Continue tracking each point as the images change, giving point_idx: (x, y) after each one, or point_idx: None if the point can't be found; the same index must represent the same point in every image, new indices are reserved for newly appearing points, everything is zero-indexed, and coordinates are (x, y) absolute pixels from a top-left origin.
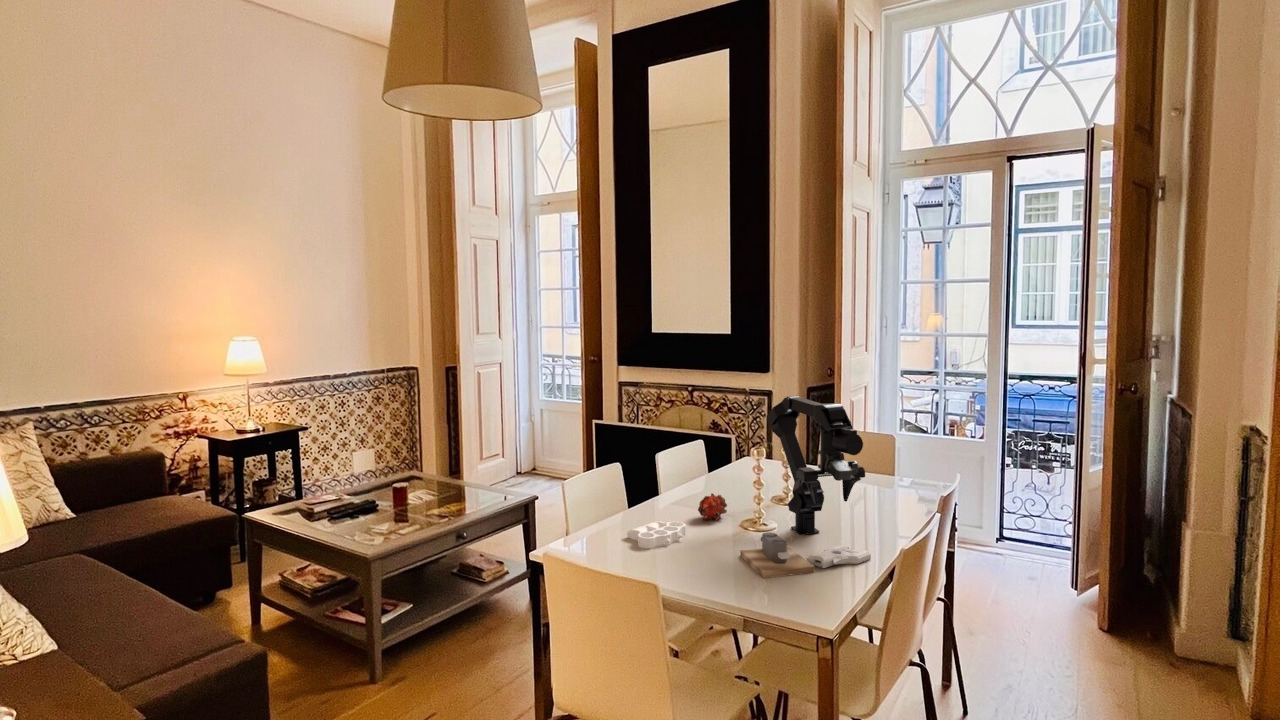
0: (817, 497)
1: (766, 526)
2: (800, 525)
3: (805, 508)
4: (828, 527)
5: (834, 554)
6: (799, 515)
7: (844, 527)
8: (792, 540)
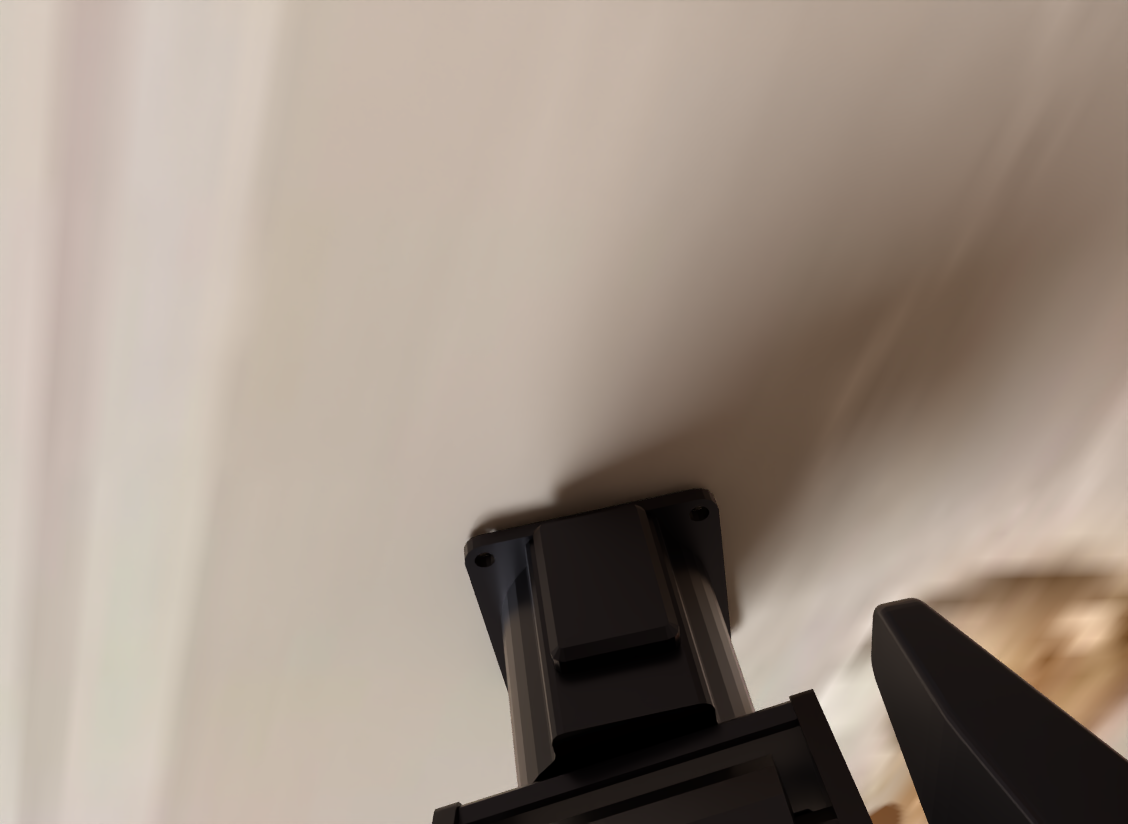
0: (990, 769)
1: None
2: (703, 599)
3: (745, 763)
4: (319, 679)
5: None
6: (745, 708)
7: (136, 685)
8: (864, 337)
